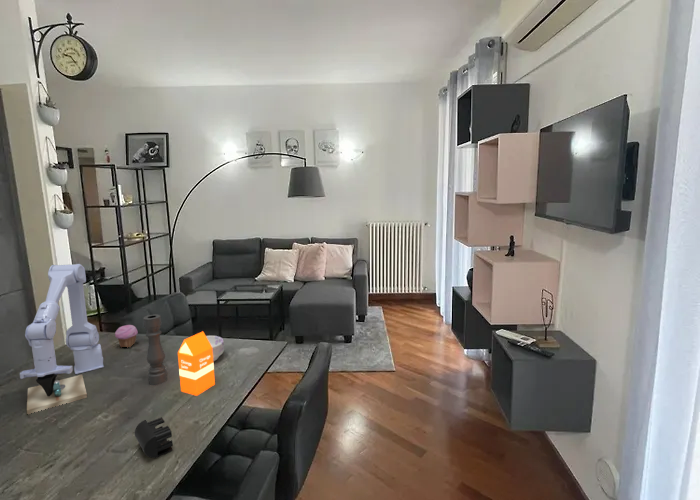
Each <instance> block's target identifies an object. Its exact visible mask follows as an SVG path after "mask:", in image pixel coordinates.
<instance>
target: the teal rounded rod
mask: <svg viewBox="0 0 700 500" xmlns="http://www.w3.org/2000/svg"><path fill="white" fill-rule="evenodd" d="M60 386H61V385H60V381H59V380H58V379H56V380H55V382H54V386H53V389H54V394H55V396H60V395H61V388H60Z"/></svg>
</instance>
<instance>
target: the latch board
mask: <svg viewBox="0 0 700 500" xmlns="http://www.w3.org/2000/svg"><path fill="white" fill-rule="evenodd" d="M83 377H84V376H83V374H79V375H78V374H77V375H74V376H70V377H67V378H63V379H60V380H59V381H60V385H61V386H60V388H61V395H60V396H55V394H54V389H53V393H52V394H51V395H50V396H47V394H46V392H45V391H44V389H43V388H42V386H41V385H40V384H38V385H35V386H30V387H28V388H27V396H26V397H27V398H26V401H27V402H26V415H27V414H28V415H31V413H32V414H35V413H38V411H39V412H42V411H44V410H45V409H46V410H49V409H51V408H52V407H53V408H56V407H59V405H60V406H63V405H66V403H67V404H70V403H72V402H78V401H79V400H84V399H87V398H88V394H87V389H86V386H85V380H84V378H83ZM62 404H63V405H62ZM55 406H56V407H55ZM48 408H49V409H48ZM41 410H42V411H41ZM46 410H45V411H46ZM34 412H35V413H34Z"/></svg>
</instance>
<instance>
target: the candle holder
mask: <svg viewBox="0 0 700 500" xmlns="http://www.w3.org/2000/svg"><path fill="white" fill-rule="evenodd" d="M161 317H162V316H161V314H156V313H155V314H148V315H146V316H143V328H144V329H145V330H146V332H145V336H146V338H147V339H148V340H147V341H148V347H147V353H146V361H147V363H148V364H149V366H150V367H149V368H148V375H147V376H148V377H147V378H148V383H149V385H152V386H156V385H157V386H158V385H161V384H164V383H165V382H167V380H168V373H167V369H166V366H165V365H164V364H163V363H164V361H165V359H166V354H165V351H164V349H163V346H162V343H161V334H162V330H160V329H161V326H162V318H161Z"/></svg>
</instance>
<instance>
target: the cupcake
mask: <svg viewBox="0 0 700 500" xmlns="http://www.w3.org/2000/svg"><path fill="white" fill-rule="evenodd" d="M114 332H115V333H114V337H115V338H116V339H117V341H118V344H119V346H120V348H122V347H127V349H129V348H128V347H130V348H131V346H132V345H133V344H134V345H135V343H136V341H137V335H138V329H137V327H136V326H135V325H133V324H126V325H122V326H119V327H118V328H117V329H116V331H114ZM134 345H133V346H134ZM133 346H132V347H133Z"/></svg>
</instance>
